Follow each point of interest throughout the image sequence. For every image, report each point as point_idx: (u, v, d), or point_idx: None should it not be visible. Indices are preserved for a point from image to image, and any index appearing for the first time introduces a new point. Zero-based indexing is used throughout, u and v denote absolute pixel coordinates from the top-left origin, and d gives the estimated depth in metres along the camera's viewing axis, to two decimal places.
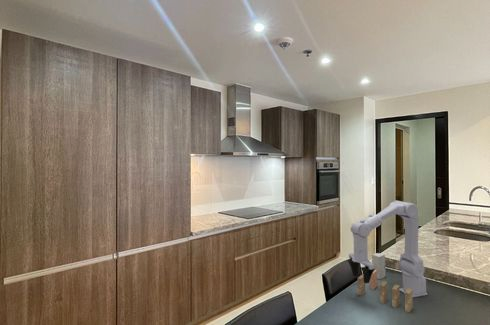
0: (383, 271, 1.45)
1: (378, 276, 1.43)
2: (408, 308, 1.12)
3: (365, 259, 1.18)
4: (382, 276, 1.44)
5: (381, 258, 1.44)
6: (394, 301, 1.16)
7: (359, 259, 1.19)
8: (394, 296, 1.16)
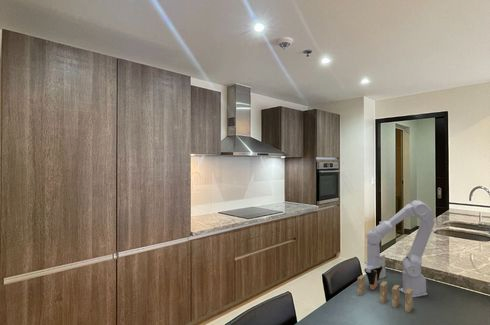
0: (383, 271, 1.45)
1: None
2: (408, 308, 1.12)
3: (372, 264, 1.32)
4: (382, 276, 1.44)
5: (381, 258, 1.44)
6: (394, 301, 1.16)
7: (367, 262, 1.34)
8: (394, 296, 1.16)
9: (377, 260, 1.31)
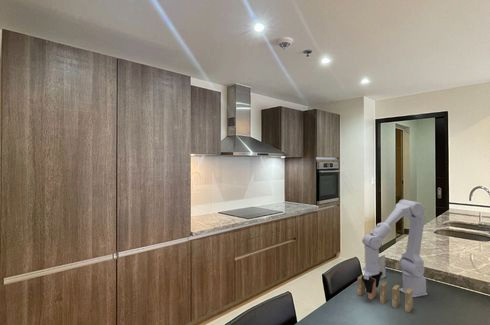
0: (383, 271, 1.45)
1: None
2: (408, 308, 1.12)
3: (370, 270, 1.23)
4: (382, 276, 1.44)
5: (381, 258, 1.44)
6: (394, 301, 1.16)
7: (365, 268, 1.25)
8: (394, 296, 1.16)
9: (376, 266, 1.22)
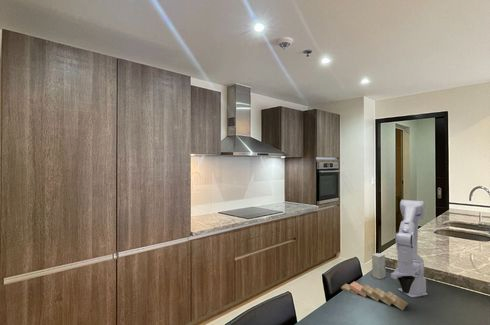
0: (383, 271, 1.45)
1: (378, 276, 1.43)
2: (399, 305, 1.14)
3: (401, 270, 1.14)
4: (382, 276, 1.44)
5: (381, 258, 1.44)
6: (384, 300, 1.19)
7: (397, 268, 1.16)
8: (379, 296, 1.20)
9: (408, 267, 1.12)
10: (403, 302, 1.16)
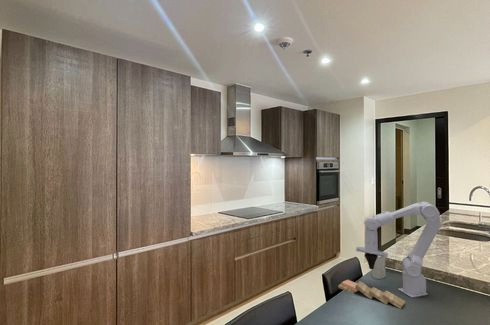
0: (383, 271, 1.45)
1: (378, 276, 1.43)
2: (397, 304, 1.16)
3: None
4: (382, 276, 1.44)
5: (381, 258, 1.44)
6: (381, 299, 1.20)
7: None
8: (376, 296, 1.21)
9: (366, 245, 1.34)
10: (401, 301, 1.18)
